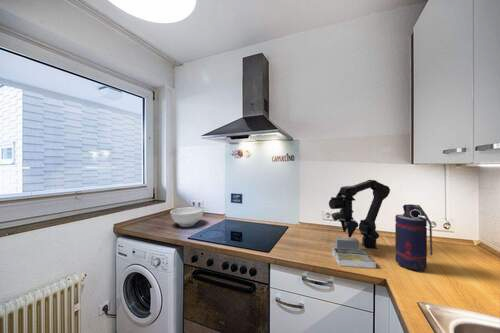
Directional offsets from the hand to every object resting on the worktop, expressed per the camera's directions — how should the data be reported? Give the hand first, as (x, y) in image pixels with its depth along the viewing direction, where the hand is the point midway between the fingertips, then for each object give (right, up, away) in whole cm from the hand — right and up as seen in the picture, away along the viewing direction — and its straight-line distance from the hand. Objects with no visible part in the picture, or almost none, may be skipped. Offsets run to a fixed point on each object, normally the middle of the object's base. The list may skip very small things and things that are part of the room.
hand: (346, 234), depth 116 cm
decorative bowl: (-110, -9, +48) cm, 120 cm away
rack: (-4, -9, -14) cm, 17 cm away
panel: (0, -9, 0) cm, 9 cm away
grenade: (+22, -9, -21) cm, 31 cm away
